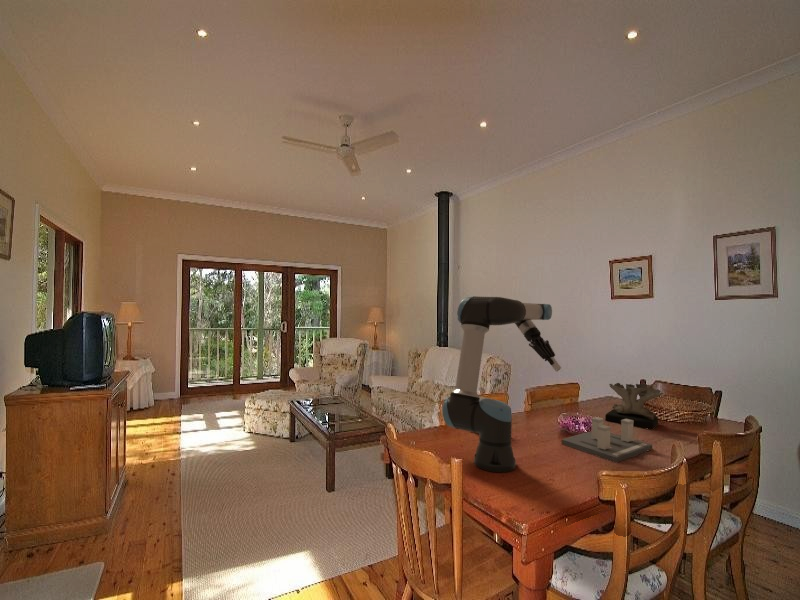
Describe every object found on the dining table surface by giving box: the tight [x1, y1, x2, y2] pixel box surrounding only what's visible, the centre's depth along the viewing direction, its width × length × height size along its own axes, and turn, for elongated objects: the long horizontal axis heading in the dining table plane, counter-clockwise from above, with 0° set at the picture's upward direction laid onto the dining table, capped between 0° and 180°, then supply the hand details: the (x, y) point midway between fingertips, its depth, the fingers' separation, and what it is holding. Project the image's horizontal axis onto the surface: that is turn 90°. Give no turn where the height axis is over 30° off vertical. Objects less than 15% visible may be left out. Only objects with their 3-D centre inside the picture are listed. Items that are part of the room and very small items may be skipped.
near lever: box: [597, 424, 612, 450], centre depth 166 cm, size 4×3×9 cm
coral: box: [604, 382, 664, 430], centre depth 208 cm, size 25×20×22 cm
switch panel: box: [560, 430, 653, 463], centre depth 174 cm, size 28×24×2 cm
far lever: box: [620, 419, 634, 442], centre depth 176 cm, size 4×3×9 cm
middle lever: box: [590, 416, 605, 440], centre depth 178 cm, size 4×3×9 cm
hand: (558, 369), depth 190 cm, fingers closed
